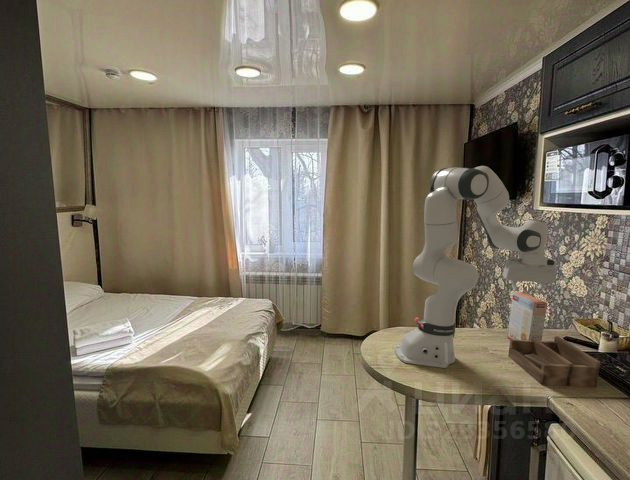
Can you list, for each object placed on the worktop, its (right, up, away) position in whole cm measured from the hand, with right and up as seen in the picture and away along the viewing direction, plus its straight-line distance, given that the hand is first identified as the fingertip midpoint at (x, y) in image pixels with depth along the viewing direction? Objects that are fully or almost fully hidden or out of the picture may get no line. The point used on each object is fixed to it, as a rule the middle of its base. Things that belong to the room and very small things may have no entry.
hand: (526, 291), depth 143 cm
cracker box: (+1, -23, +4) cm, 24 cm away
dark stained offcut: (-9, -23, -21) cm, 32 cm away
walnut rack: (-5, -26, -21) cm, 34 cm away
